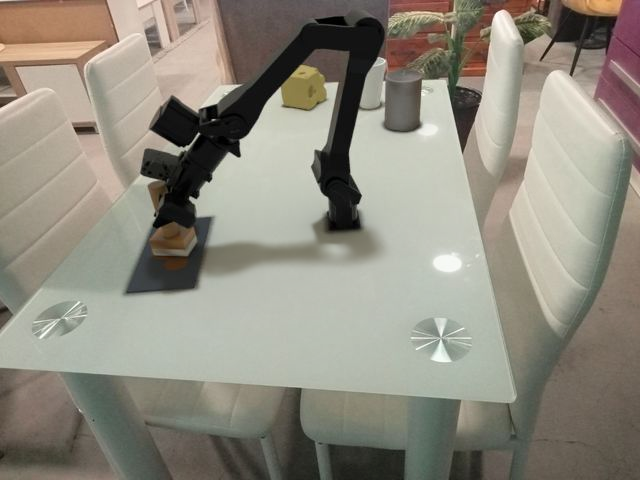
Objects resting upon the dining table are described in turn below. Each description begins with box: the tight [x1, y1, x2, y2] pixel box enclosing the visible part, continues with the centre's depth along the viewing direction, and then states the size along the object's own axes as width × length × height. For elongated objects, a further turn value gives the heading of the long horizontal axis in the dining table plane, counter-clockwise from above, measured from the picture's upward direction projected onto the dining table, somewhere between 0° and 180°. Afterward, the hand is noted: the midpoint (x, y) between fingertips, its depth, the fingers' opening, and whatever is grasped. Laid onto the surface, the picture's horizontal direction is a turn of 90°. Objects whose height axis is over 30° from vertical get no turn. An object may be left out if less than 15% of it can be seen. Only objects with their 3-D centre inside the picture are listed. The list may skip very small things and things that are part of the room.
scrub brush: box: [147, 180, 198, 256], centre depth 89 cm, size 7×5×14 cm
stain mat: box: [125, 216, 212, 294], centre depth 93 cm, size 22×12×1 cm, turn 2°
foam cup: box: [359, 56, 387, 110], centre depth 143 cm, size 10×9×13 cm
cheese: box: [280, 64, 328, 111], centre depth 149 cm, size 10×11×10 cm
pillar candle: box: [384, 68, 423, 132], centre depth 129 cm, size 10×10×15 cm
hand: (155, 221), depth 90 cm, fingers closed on scrub brush, 3 cm apart
